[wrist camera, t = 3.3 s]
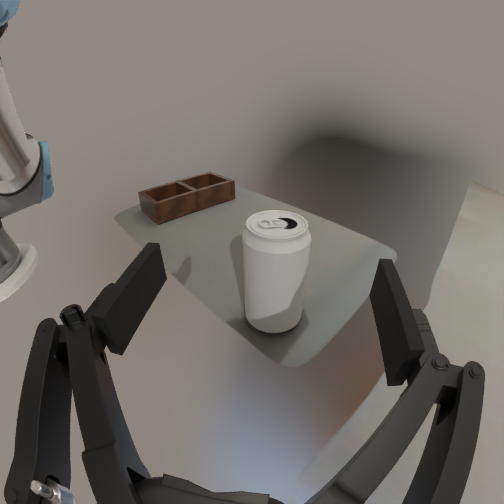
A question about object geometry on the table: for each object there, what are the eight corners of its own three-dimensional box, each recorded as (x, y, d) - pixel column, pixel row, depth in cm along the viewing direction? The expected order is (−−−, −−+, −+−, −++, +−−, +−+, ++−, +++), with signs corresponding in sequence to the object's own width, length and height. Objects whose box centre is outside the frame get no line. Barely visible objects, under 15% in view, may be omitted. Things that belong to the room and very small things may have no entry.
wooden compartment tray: (158, 225, 52) (154, 204, 49) (141, 210, 58) (138, 192, 56) (235, 198, 62) (234, 180, 59) (211, 188, 68) (210, 171, 66)
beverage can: (307, 332, 29) (323, 235, 23) (249, 341, 29) (247, 242, 22) (292, 295, 35) (300, 205, 28) (241, 301, 34) (238, 209, 27)
